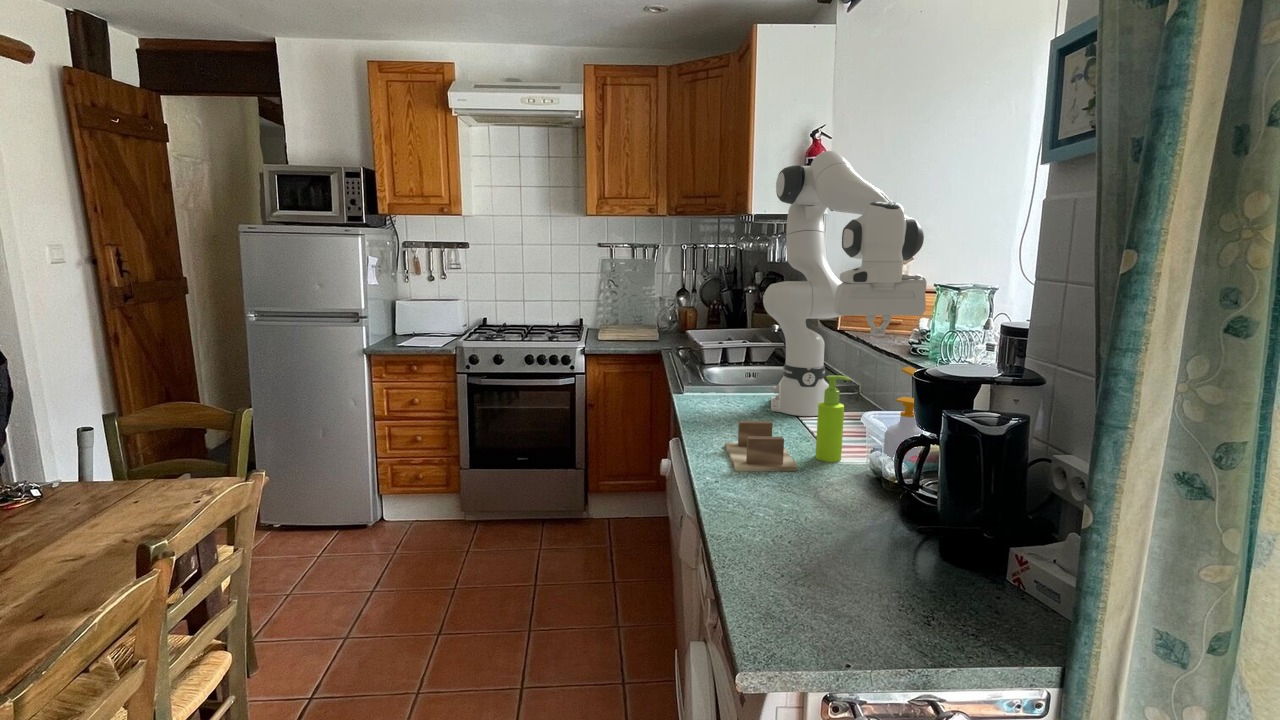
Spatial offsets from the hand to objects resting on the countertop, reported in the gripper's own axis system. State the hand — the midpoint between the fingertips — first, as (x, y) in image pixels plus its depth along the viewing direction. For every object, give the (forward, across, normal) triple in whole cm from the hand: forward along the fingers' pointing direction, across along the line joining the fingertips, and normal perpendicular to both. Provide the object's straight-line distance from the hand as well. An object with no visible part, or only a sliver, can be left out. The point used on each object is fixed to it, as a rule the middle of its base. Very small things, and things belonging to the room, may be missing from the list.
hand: (877, 334), depth 155 cm
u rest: (+30, +26, 0) cm, 40 cm away
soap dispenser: (+30, +9, 0) cm, 31 cm away
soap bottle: (+30, -3, +14) cm, 33 cm away
